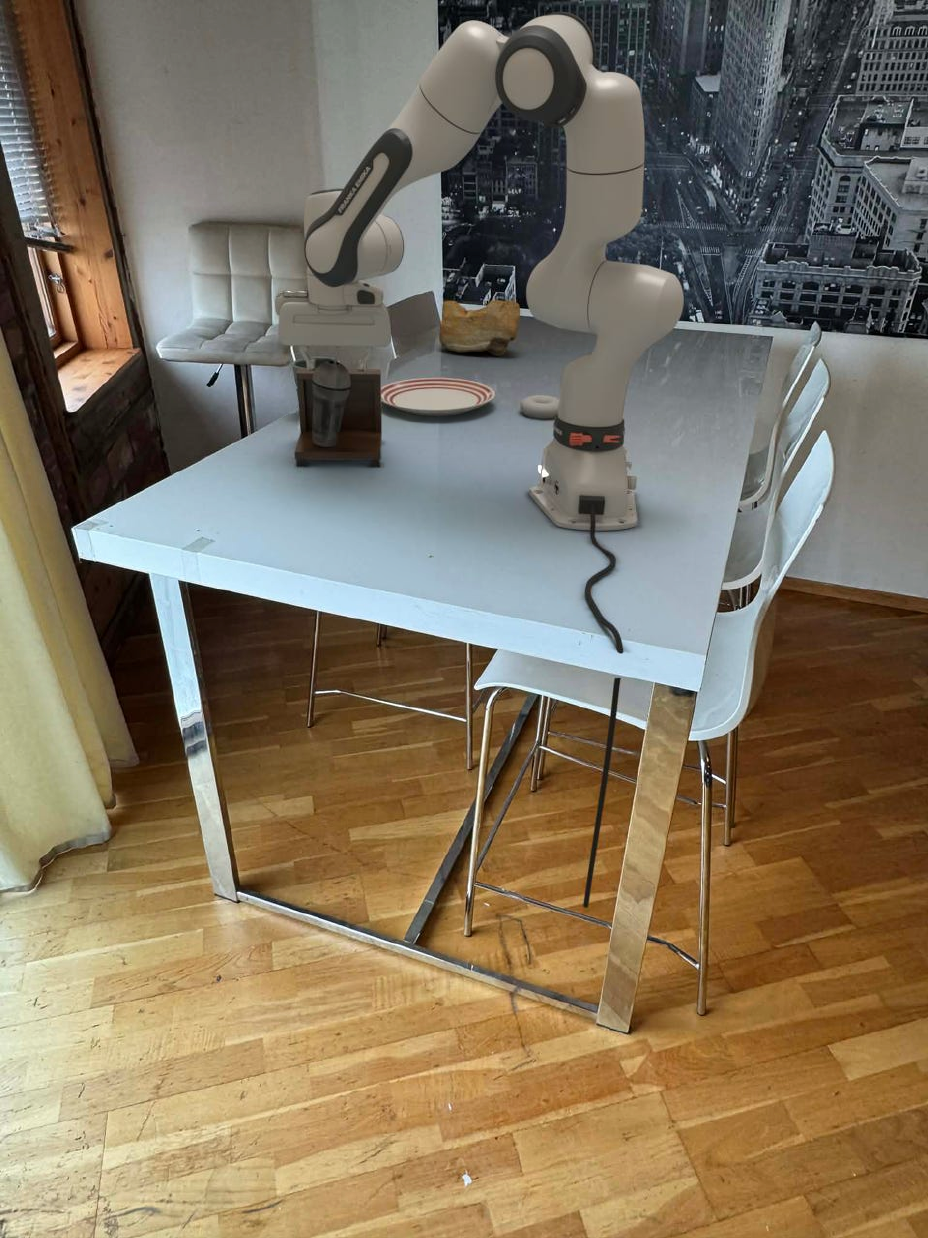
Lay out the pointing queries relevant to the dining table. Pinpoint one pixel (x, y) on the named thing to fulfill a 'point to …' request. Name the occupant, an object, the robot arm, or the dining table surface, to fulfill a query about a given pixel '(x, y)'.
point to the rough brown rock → (479, 327)
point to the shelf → (344, 420)
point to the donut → (540, 406)
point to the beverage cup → (329, 400)
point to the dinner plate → (436, 396)
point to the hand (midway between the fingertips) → (337, 370)
